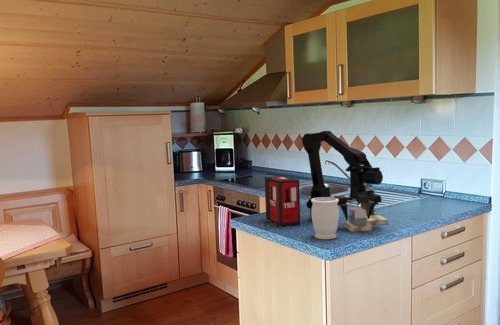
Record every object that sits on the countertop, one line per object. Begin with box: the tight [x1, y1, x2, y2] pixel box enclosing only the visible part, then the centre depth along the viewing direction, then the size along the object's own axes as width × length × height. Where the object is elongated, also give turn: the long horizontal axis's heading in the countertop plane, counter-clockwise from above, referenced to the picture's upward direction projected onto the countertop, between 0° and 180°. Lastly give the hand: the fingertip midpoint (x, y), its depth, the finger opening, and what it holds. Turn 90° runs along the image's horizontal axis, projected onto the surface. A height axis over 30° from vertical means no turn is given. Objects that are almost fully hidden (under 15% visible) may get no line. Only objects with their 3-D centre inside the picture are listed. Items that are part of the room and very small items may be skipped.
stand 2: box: [366, 214, 389, 226], centre depth 193 cm, size 9×9×2 cm
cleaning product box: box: [264, 175, 301, 228], centre depth 197 cm, size 16×9×20 cm, turn 22°
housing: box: [348, 206, 367, 226], centre depth 183 cm, size 5×7×6 cm
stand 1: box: [343, 220, 373, 233], centre depth 184 cm, size 9×9×2 cm
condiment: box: [360, 188, 379, 216], centre depth 206 cm, size 7×8×12 cm
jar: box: [311, 196, 340, 240], centre depth 172 cm, size 11×10×15 cm
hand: (357, 219), depth 183 cm, fingers open, 9 cm apart
